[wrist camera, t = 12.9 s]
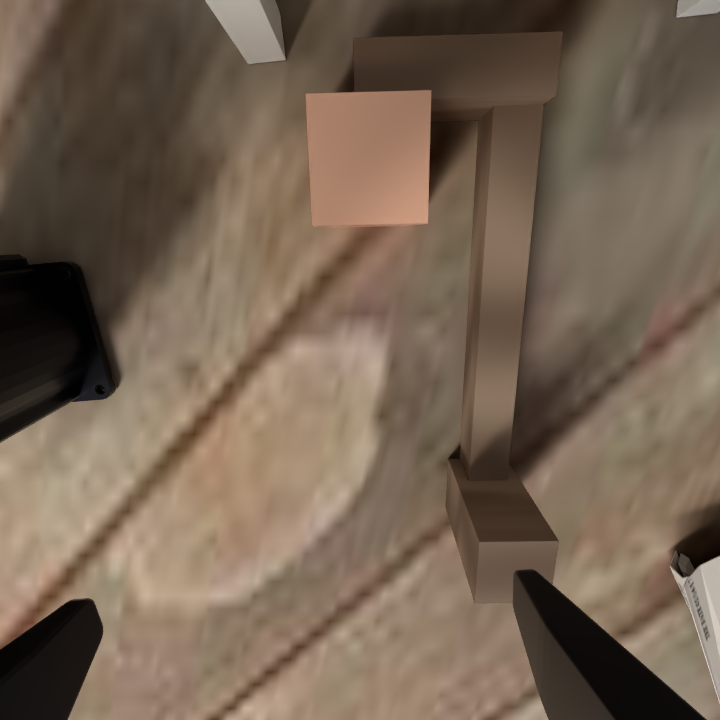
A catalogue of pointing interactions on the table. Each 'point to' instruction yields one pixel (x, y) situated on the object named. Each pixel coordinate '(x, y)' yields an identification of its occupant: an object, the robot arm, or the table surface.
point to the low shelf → (265, 38)
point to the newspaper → (702, 606)
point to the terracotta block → (369, 158)
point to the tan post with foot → (486, 273)
